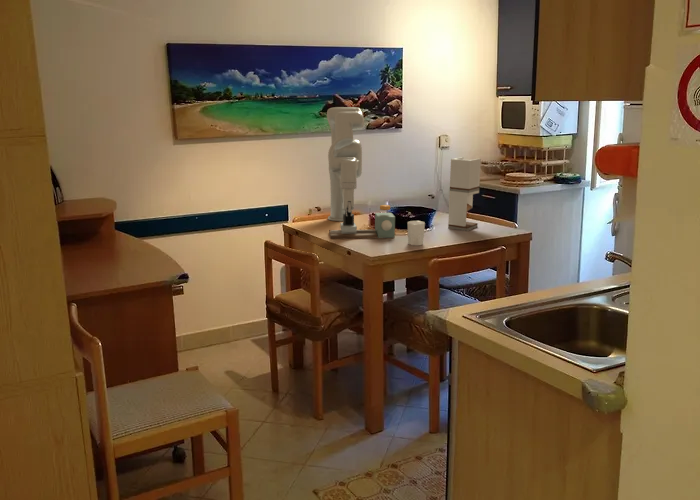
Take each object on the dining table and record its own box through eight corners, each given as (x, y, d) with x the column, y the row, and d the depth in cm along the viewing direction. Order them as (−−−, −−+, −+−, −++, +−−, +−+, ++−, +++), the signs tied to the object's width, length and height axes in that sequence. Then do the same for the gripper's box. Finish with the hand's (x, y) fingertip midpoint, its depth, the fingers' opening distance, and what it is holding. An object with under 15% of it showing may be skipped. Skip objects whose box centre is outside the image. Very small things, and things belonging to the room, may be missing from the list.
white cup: (410, 246, 298) (411, 224, 296) (404, 242, 306) (405, 221, 303) (426, 245, 300) (427, 223, 298) (420, 241, 308) (421, 220, 305)
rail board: (329, 233, 323) (329, 228, 323) (373, 232, 326) (373, 227, 325) (330, 238, 312) (330, 233, 311) (377, 238, 314) (377, 232, 313)
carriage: (340, 230, 322) (340, 212, 320) (354, 230, 323) (354, 212, 321) (341, 234, 313) (341, 216, 311) (356, 234, 314) (356, 216, 312)
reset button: (379, 208, 319) (379, 204, 319) (389, 208, 320) (389, 204, 319) (380, 210, 314) (380, 206, 314) (391, 210, 315) (391, 206, 315)
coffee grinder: (466, 230, 330) (470, 160, 322) (448, 228, 337) (450, 159, 328) (477, 227, 339) (480, 158, 331) (458, 224, 345) (461, 157, 337)
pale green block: (374, 232, 325) (375, 212, 323) (390, 232, 326) (391, 212, 323) (378, 238, 314) (378, 217, 312) (394, 237, 315) (395, 217, 312)
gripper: (339, 183, 320) (339, 220, 325) (342, 188, 304) (342, 227, 309) (354, 182, 321) (354, 220, 325) (358, 188, 305) (357, 227, 309)
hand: (348, 223), depth 317 cm, fingers closed on carriage, 3 cm apart
